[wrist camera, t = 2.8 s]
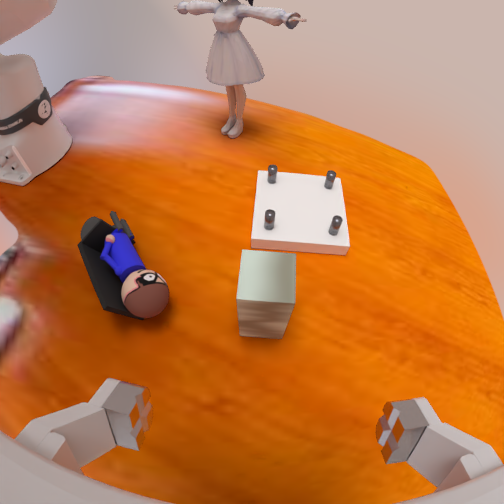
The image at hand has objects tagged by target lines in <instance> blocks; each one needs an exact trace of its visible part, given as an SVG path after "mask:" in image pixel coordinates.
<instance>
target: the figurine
mask: <svg viewBox="0 0 504 504" xmlns="http://www.w3.org/2000/svg"><path fill="white" fill-rule="evenodd" d="M218 1H219V2H220V3H209V2H203V1H192V2H190V3H187V2H181V3H179V4H178V5H176V6H175V7H177V8H175V9H177V10H178V12H179V13H181V14H187V13H188V12H189V13H190V14H193V15H200V14H204V13H215V15H214V16H213V22H214V24H215V27H216V30H217V32H216V34H214V36H215V37H214V40H213V43H212V46H211V49H210V53H209V57H208V62H207V67H206V73H207V79H208V80H209V81H210V82H212V83H214V84H218V85H222V86H224V85H225V86H226V91H227V96H228V102H229V119H228V121H227V123H226V124H225V125H224V126H223V127H222V129H221V132H222V134H223V135H228V136H229V138H232V139H233V138H236V137H238V136H239V135H240V133H241V132H242V131H243V120H242V115H243V110H244V106H245V101H246V93H245V90H244V87H243V84H249V83H254V82H257V81H260V80H261V79H263V77H264V73H263V68H262V66H261V63H260V61H259V59H258V57H257V56H256V54H255V52H254V51H253V49H252V47H251V45H250V44H249V43H248V41H247V40H246V38H245V37H244V35H243V34H242V33H241V31H240V30H239V27H240V25H241V22H242V20H243V18H244V17H253V18H256V19H260V20H263V21H265V22H267V23H269V24H271V25H273V26H279V25H281V24H282V23H284V24H285V25H286V26H287V27H288V28H289V29H293V28H294V27H296V25H297V24H298V22H299V21H302V22H303V21H306V19H301V18H300V15H299V14H298V13H288V14H287V13H286V12H285V11H284V10H283V9H281V8H267V7H252V5H253V0H248V2H249V4H250V5H251V6H247V5H244V4H241V3H240V2H239V1H238V0H227V1H226V2H221V1H223V0H221V1H220V0H218ZM236 102H237V120H236V114H235V109H236Z"/></svg>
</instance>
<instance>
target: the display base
mask: <svg viewBox="0 0 504 504" xmlns="http://www.w3.org/2000/svg"><path fill="white" fill-rule="evenodd" d="M335 177H336V173H335V172H334V171H328V172H327V176H326V177H325V176H316V175H306V174H296V173H285V172H277V166H276V165H270V166H269V167H268V171H259V170H258V178H257V188H256V197H255V207H254V217H253V226H252V236H251V248H259V249H272V250H285V251H298V252H311V253H323V254H336V255H346V253H347V251H348V249H349V247H350V244H349V235H348V227H347V220H346V213H345V206H344V199H343V193H342V186H341V180H340V178H335Z"/></svg>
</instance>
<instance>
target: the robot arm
mask: <svg viewBox="0 0 504 504" xmlns="http://www.w3.org/2000/svg"><path fill="white" fill-rule="evenodd" d="M56 3H57V0H0V45H1V44H3V43H5V42H6V41H8V40H10V39H11V38H13V37H15V36H17V35H18V34H20V33H22V32H24V31H26V30H28V29H29V28H31V27H32V26H34V25H35V24H37V23H38V22H40V21H41V20H42V19H44V18H45V17H46V16H48V15H50V14H51V13H52V11H53V9H54V8H55V5H56ZM71 143H72V136H71V135H70V134H69V132H68V131H67V127H66V126H65V125H63V124H62V122H61V120H60V118H59V116H58V115H57V113H56V111H55V109H54V107H53V106H52V105H51V99H50V96H49V93H48V91H47V89H46V88H45V87H43V84H42V81H41V79H40V76H39V73H38V70H37V67H36V64H35V61H34V59H33V58H32V57H30V56H29V55H25V54H18V55H10V56H4V55H2V54H0V181H1V182H6V183H11V184H16V185H21V186H24V185H26V184H27V183H29V182H30V181H31V180H32V179H33V178H34V177H35V176H37V175H39V174H40V173H42V172H44V171H45V170H47V169H48V168H50V167H51V166H53V165H54V164H55V163H56V162H57V161H59V160H60V159H61V158H62V157H63V156H64V154H65V153H66V152H67V151H68V149H69V148H70V146H71ZM150 397H151V395H150V390H149V388H147V387H144V386H140V385H136V384H132V383H128V382H124V381H119V380H116V379H112V378H108V379H106V380H105V382H104V383H103V384H102V385H101V387H100V388H99V389H98V391H97V392H96V393H95V394H94V396H93V397H92V398H91V399H90V401H89V402H88V403H86V402H83V403H80V404H77V405H75V406H72V407H69V408H66V409H63V410H60V411H57V412H54V413H51V414H48V415H45V416H42V417H39V418H36V419H33V420H31V421H30V422H29V424H28V425H27V426H26V427H25V428H24V429H23V430H22V431H21V432H20V434H19V435H18V436H17V437H16V438H15V439H13V438H11V437H9V436H8V435H6V434H5V433H3V432H2V431H0V504H174V503H170V502H165V501H161V500H157V499H153V498H149V497H146V496H142V495H138V494H135V493H132V492H129V491H125V490H122V489H119V488H116V487H113V486H110V485H108V484H105V483H102V482H100V481H97V480H94V479H92V478H89V477H87V476H84V474H83V472H82V470H81V469H80V468H81V467H83V466H84V465H86V464H88V463H90V462H91V461H93V460H95V459H96V458H98V457H100V456H101V455H103V454H105V453H106V452H108V451H109V450H111V449H113V448H114V447H116V445H119V446H122V447H126V448H130V449H134V450H138V451H139V450H140V448H141V445H142V443H143V441H144V439H145V436H144V432H145V431H147V430H149V429H150V426H151V424H152V420H153V407H152V405H151V404H150V402H149V399H150ZM383 412H384V415H383V416H382V417H381V418H380V419H379V420H378V423H377V425H376V438H377V441H378V443H379V444H381V445H382V446H383V448H382V450H381V452H382V455H383V458H384V461H385V463H386V464H391V463H397V462H404V461H407V463H408V464H409V465H411V466H412V467H413V468H414V469H415V470H417V471H418V472H419V473H420V474H421V475H423V476H424V477H425V478H426V479H428V480H429V481H430V482H431V483H432V484H434V485H435V486H436V487H437V489H436V490H435V491H434V493H432V494H429V495H426V496H422V497H418V498H415V499H411V500H407V501H403V502H399V503H394V504H504V465H503V463H502V462H501V460H500V459H499V457H498V456H497V454H496V453H495V451H494V450H493V448H492V447H491V446H490V445H489V444H487V443H484V442H482V441H480V440H478V439H476V438H474V437H472V436H470V435H468V434H466V433H464V432H462V431H460V430H458V429H456V428H454V427H453V426H451V425H449V424H447V423H442V422H441V421H440V419H439V418H438V416H437V415H436V413H435V411H434V410H433V408H432V407H431V405H430V404H429V402H428V401H427V399H426V398H424V397H420V398H413V399H407V400H399V401H390V402H387V403H386V404H385V405H384V408H383Z"/></svg>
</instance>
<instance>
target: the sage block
mask: <svg viewBox="0 0 504 504" xmlns="http://www.w3.org/2000/svg"><path fill="white" fill-rule="evenodd" d="M295 288H296V254H293V253H280V252H267V251H254V250H242V256H241V264H240V273H239V281H238V290H237V298H236V300H237V311H238V322H239V333H240V336H247V337H260V338H274V339H282V337H283V335H284V332H285V329H286V327H287V324H288V321H289V319H290V316H291V313H292V311H293V308H294V305H295Z"/></svg>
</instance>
